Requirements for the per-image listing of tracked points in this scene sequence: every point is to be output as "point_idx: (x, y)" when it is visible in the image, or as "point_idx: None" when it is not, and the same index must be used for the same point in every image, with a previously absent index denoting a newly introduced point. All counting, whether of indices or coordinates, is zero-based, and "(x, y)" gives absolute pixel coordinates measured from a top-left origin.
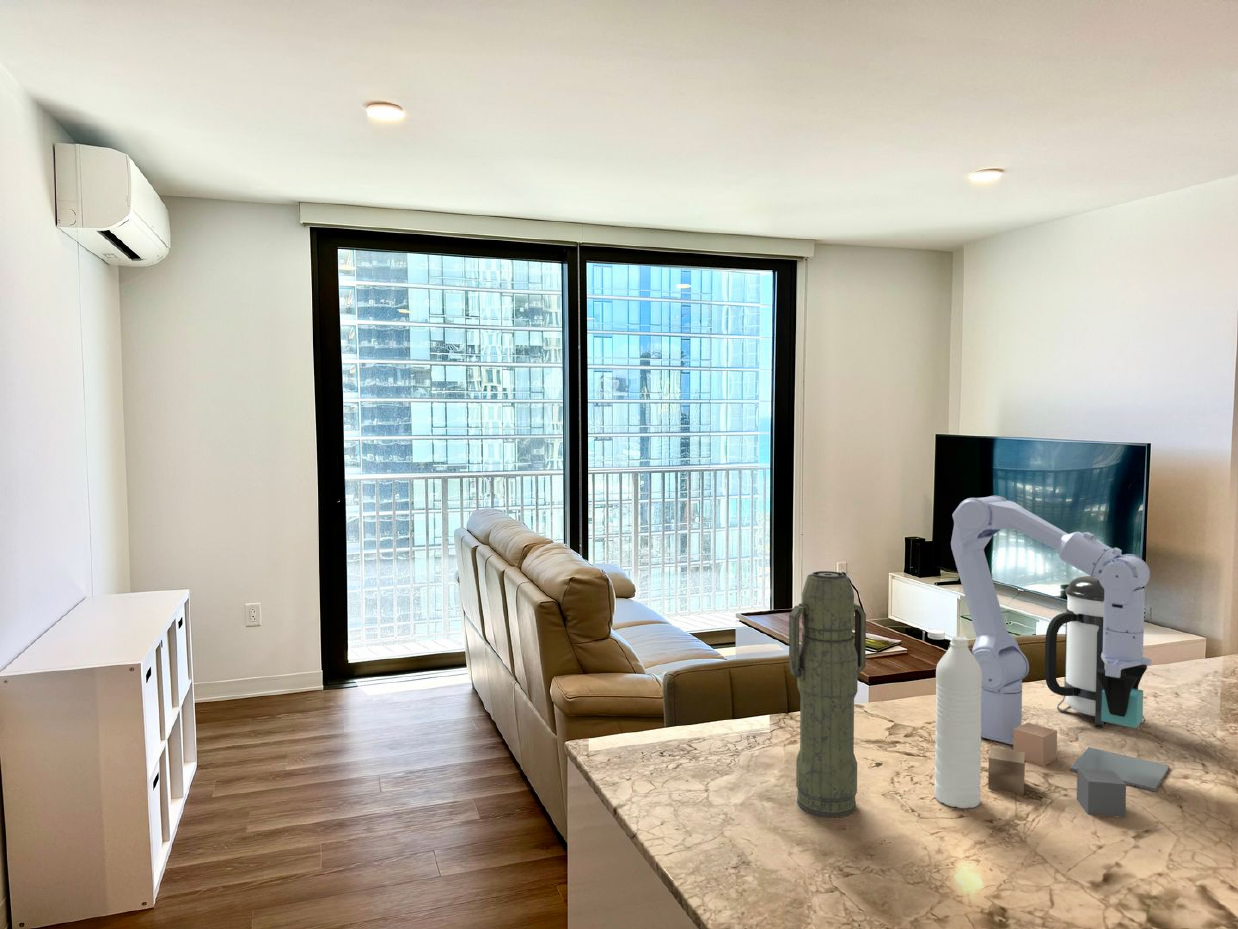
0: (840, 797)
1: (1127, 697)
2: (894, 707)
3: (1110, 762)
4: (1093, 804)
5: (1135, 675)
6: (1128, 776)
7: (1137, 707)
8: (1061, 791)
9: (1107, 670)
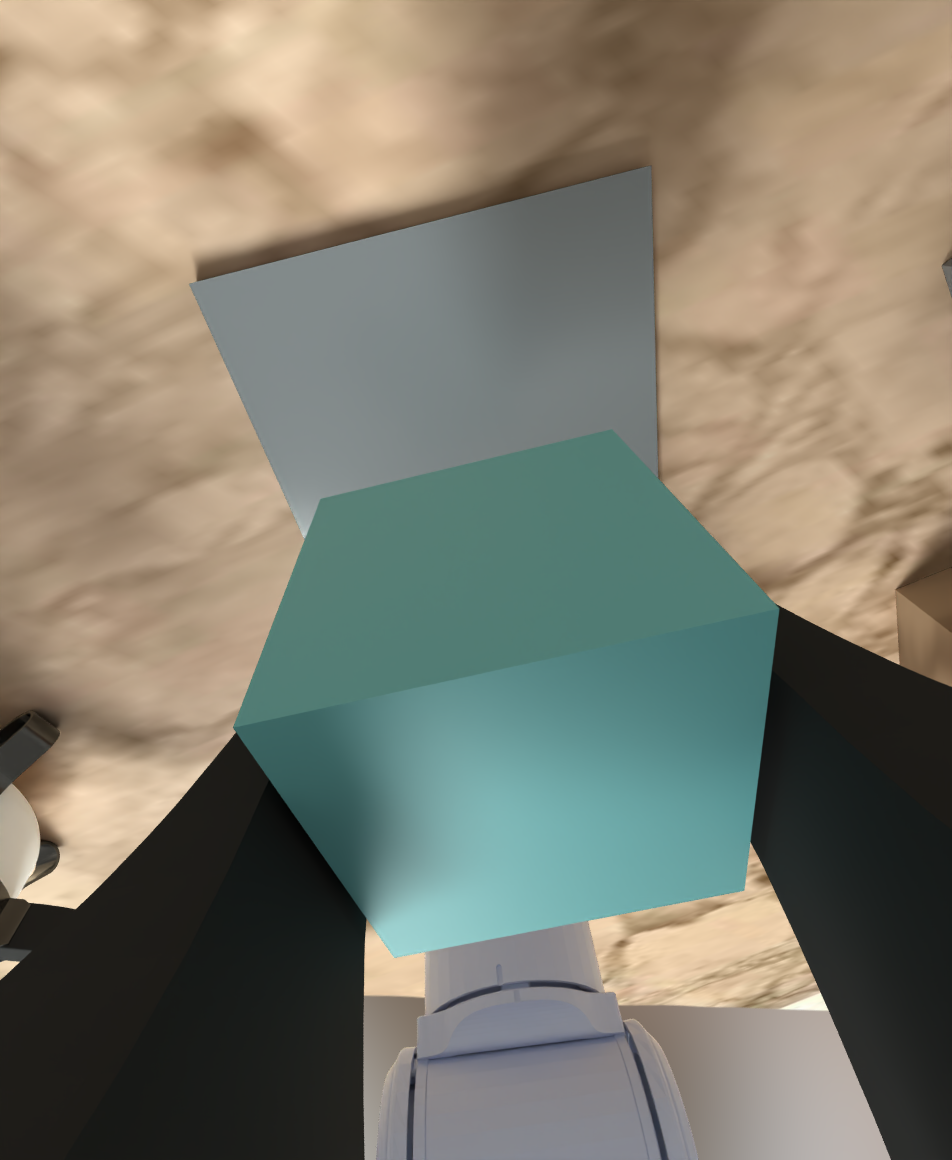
0: None
1: (915, 675)
2: None
3: None
4: None
5: (196, 1094)
6: (575, 359)
7: (653, 529)
8: (914, 475)
9: None
